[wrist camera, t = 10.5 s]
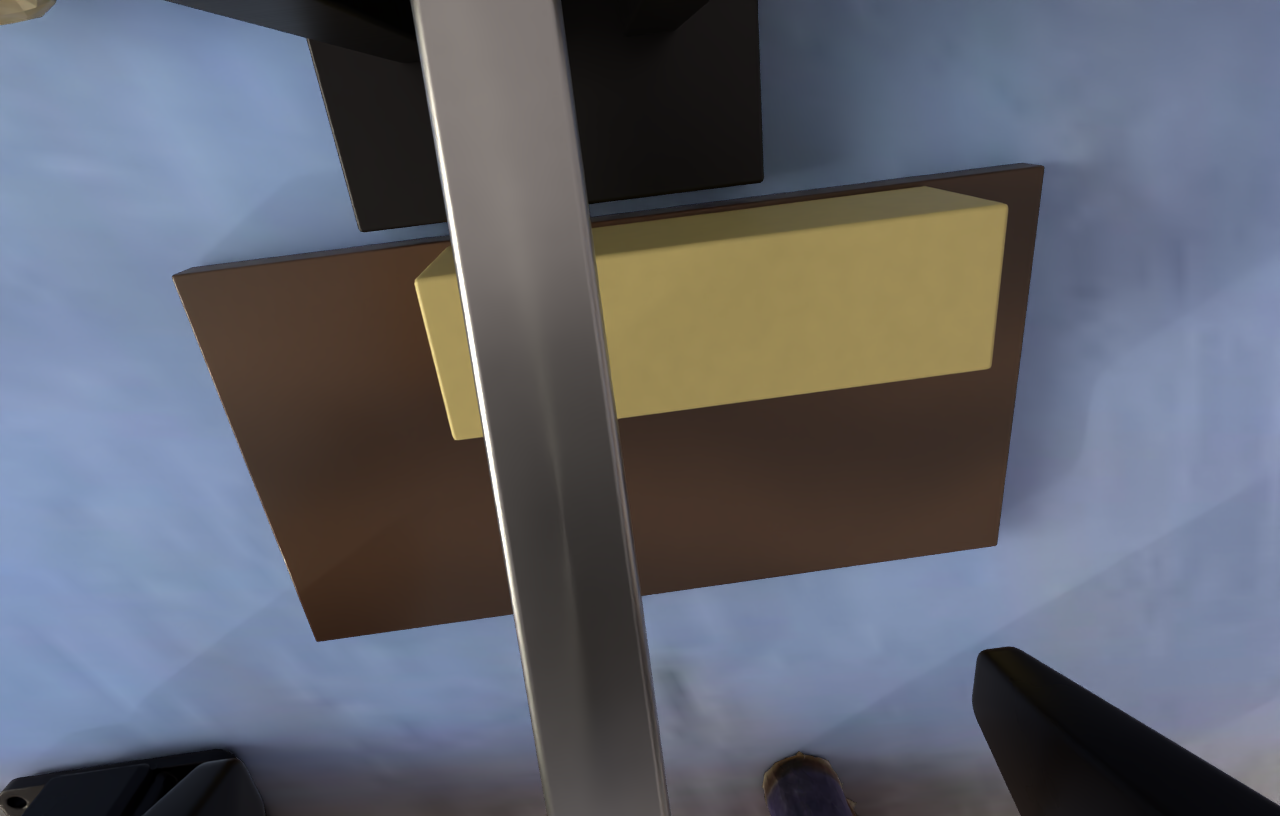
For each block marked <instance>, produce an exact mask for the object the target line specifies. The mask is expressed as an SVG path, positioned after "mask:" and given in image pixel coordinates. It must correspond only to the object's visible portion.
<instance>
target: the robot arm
mask: <svg viewBox="0 0 1280 816" xmlns="http://www.w3.org/2000/svg"><path fill="white" fill-rule="evenodd" d="M972 704H973V710H974V713H975V717H976V719H977V721H978V724H979V726H980V728H981V730H982V732H983V735H984V737H985V739H986V741H987V743H988V745H989V748H990V750H991V752H992V754H993V756H994V758H995V761H996V763H997V765H998V767H999V769H1000V772H1001V774H1002V776H1003V778H1004V780H1005V782H1006V785H1007V787H1008V789H1009V791H1010V793H1011V795H1012V798H1013V800H1014V802H1015V804H1016V806H1017V808H1018V811H1019V813H1020V815H1021V816H1280V806H1279V805H1277V804H1276V803H1274V802H1272V801H1271V800H1269V799H1267V798H1266V797H1264V796H1262V795H1261V794H1259V793H1258V792H1256V791H1254V790H1253V789H1251V788H1249V787H1248V786H1246V785H1244V784H1243V783H1241V782H1239V781H1238V780H1236V779H1234V778H1233V777H1231V776H1229V775H1228V774H1226V773H1224V772H1223V771H1221V770H1219V769H1218V768H1216V767H1214V766H1213V765H1211V764H1209V763H1208V762H1206V761H1204V760H1203V759H1201V758H1199V757H1198V756H1196V755H1194V754H1193V753H1191V752H1189V751H1188V750H1186V749H1185V748H1183V747H1181V746H1180V745H1178V744H1176V743H1175V742H1173V741H1171V740H1170V739H1168V738H1166V737H1165V736H1163V735H1161V734H1160V733H1158V732H1156V731H1155V730H1153V729H1151V728H1150V727H1148V726H1146V725H1145V724H1143V723H1141V722H1140V721H1138V720H1136V719H1135V718H1133V717H1131V716H1130V715H1128V714H1126V713H1125V712H1123V711H1121V710H1120V709H1118V708H1116V707H1115V706H1113V705H1111V704H1110V703H1108V702H1107V701H1105V700H1103V699H1102V698H1100V697H1098V696H1097V695H1095V694H1093V693H1092V692H1090V691H1088V690H1087V689H1085V688H1083V687H1082V686H1080V685H1078V684H1077V683H1075V682H1073V681H1072V680H1070V679H1068V678H1067V677H1065V676H1063V675H1062V674H1060V673H1058V672H1057V671H1055V670H1053V669H1052V668H1050V667H1048V666H1047V665H1045V664H1043V663H1042V662H1040V661H1038V660H1037V659H1035V658H1034V657H1032V656H1030V655H1029V654H1027V653H1025V652H1024V651H1022V650H1020V649H1018V648H1015V647H1010V646H1008V647H1000V648H993V649H987V650H983V651H981V652H980V653H979V655H978V657H977V661H976V669H975V678H974V686H973V694H972ZM0 808H1V809H2V810H3V812H4V813H5V814H6V816H266V814H265V809H264V804H263V800H262V798H261V796H260V794H259V792H258V790H257V788H256V786H255V784H254V782H253V780H252V778H251V776H250V774H249V772H248V770H247V768H246V766H245V764H244V763H243V762H242V761H240V760H239V759H237V757H236V756H235V755H234V754H232V753H231V752H229V751H226V750H222V749H214V750H207V751H200V752H193V753H186V754H179V755H172V756H166V757H159V758H152V759H145V760H138V761H131V762H124V763H117V764H111V765H104V766H97V767H90V768H83V769H76V770H69V771H62V772H56V773H49V774H42V775H35V776H28V777H21V778H17V779H14V780H12V781H11V782H10V783H9V784H8V785H7V786H6V787H5V788H4V790H3V791H2V792H1V793H0Z"/></svg>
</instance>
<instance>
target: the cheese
mask: <svg viewBox="0 0 1280 816" xmlns="http://www.w3.org/2000/svg"><path fill="white" fill-rule="evenodd" d="M55 3H56V0H0V25H5V24H11V23H16V22H21V21H25V20H30V19H34V18H39V17H42V16H43V15H44V14H45V13H46V12H47V11H48V10H49V9H50V8H51V7H52V6H53V5H54V4H55Z"/></svg>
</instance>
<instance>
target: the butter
mask: <svg viewBox="0 0 1280 816" xmlns="http://www.w3.org/2000/svg"><path fill="white" fill-rule="evenodd" d="M1007 218H1008V205H1007V204H1004V203H1000V202H995V201H991V200H986V199H982V198H977V197H973V196H968V195H964V194H959V193H954V192H950V191H945V190H941V189H936V188H932V187H927V186H922V187H914V188H906V189H899V190H891V191H883V192H875V193H867V194H859V195H851V196H843V197H835V198H827V199H819V200H811V201H804V202H796V203H788V204H780V205H772V206H764V207H756V208H748V209H740V210H732V211H724V212H716V213H709V214H701V215H693V216H685V217H677V218H669V219H661V220H653V221H645V222H637V223H629V224H621V225H614V226H606V227H598V228H592V234H593V242H594V249H595V256H596V264H597V271H598V279H599V286H600V293H601V301H602V308H603V316H604V323H605V330H606V338H607V345H608V353H609V360H610V367H611V375H612V382H613V390H614V397H615V404H616V412H617V419H620V418H627V417H635V416H642V415H650V414H657V413H665V412H672V411H680V410H687V409H694V408H702V407H709V406H717V405H724V404H732V403H739V402H747V401H754V400H761V399H769V398H776V397H784V396H791V395H799V394H806V393H814V392H821V391H829V390H836V389H843V388H851V387H858V386H866V385H873V384H881V383H888V382H896V381H903V380H910V379H918V378H925V377H933V376H940V375H948V374H955V373H963V372H970V371H977V370H985V369H989V368H990V367H991V365H992V357H993V347H994V338H995V329H996V320H997V310H998V301H999V292H1000V283H1001V273H1002V264H1003V255H1004V245H1005V236H1006V227H1007ZM414 284H415V288H416V292H417V296H418V300H419V304H420V308H421V312H422V316H423V320H424V324H425V328H426V332H427V336H428V340H429V344H430V348H431V352H432V356H433V360H434V364H435V368H436V372H437V376H438V380H439V384H440V388H441V392H442V396H443V400H444V404H445V408H446V412H447V416H448V420H449V424H450V428H451V432H452V436H453V438H454V439H455V440H464V439H471V438H478V437H483V431H482V425H481V419H480V413H479V407H478V401H477V395H476V389H475V383H474V377H473V371H472V365H471V359H470V353H469V347H468V341H467V335H466V329H465V324H464V318H463V312H462V306H461V300H460V294H459V288H458V282H457V276H456V270H455V264H454V258H453V252H452V246H449V247H447V248H446V249H445V250H444V251H443V252H442V253H441V254H440V255H439V256H438V257H437V258H436V259H435V260H434V261H433V262H432V263H431V264H430V265H429V266H428V267H427V268H426V269H425V270H424V271H423V272H422V273H421V274H420V275H419V276H418V277H417V278H416V279H415V283H414Z"/></svg>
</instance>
